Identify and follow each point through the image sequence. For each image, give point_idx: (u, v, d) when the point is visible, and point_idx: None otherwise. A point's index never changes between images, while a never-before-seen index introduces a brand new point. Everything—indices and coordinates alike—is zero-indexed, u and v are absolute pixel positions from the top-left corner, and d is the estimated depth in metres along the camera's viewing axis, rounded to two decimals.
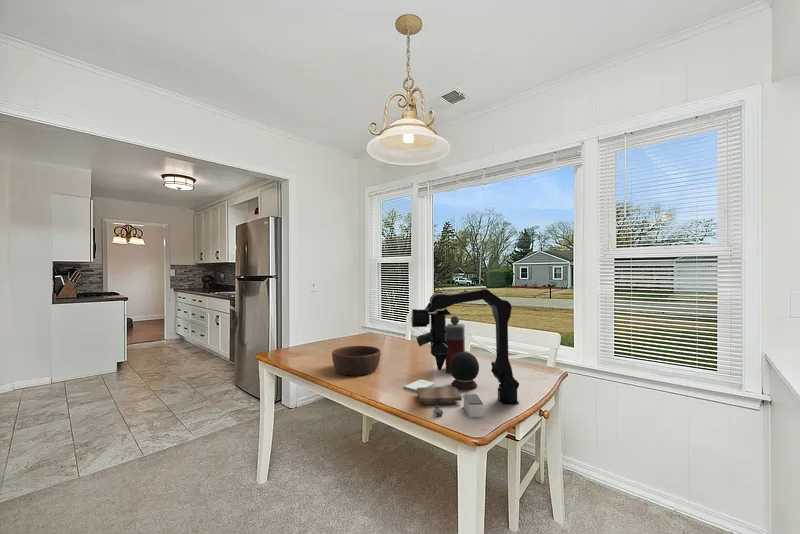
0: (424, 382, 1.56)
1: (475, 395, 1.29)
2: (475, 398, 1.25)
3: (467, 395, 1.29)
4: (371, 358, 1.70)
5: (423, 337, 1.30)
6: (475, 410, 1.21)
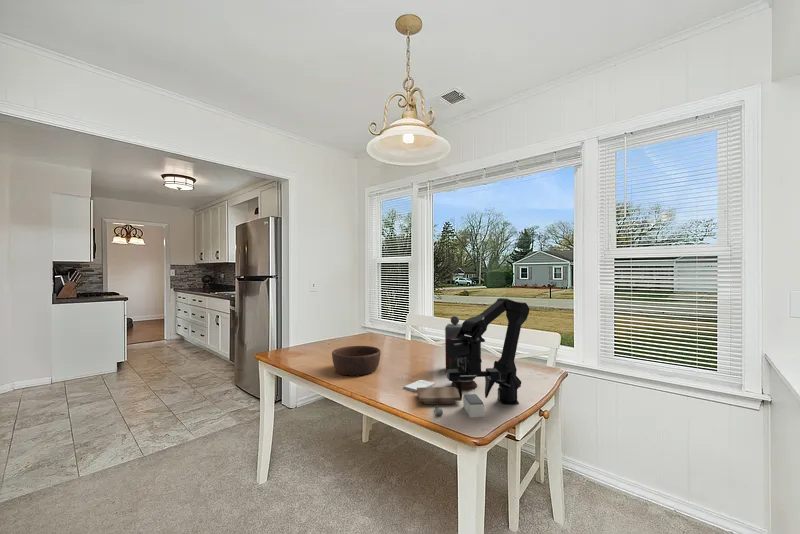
0: (424, 382, 1.56)
1: (475, 395, 1.29)
2: (475, 398, 1.25)
3: (467, 395, 1.29)
4: (371, 358, 1.70)
5: (458, 360, 1.32)
6: (476, 410, 1.21)
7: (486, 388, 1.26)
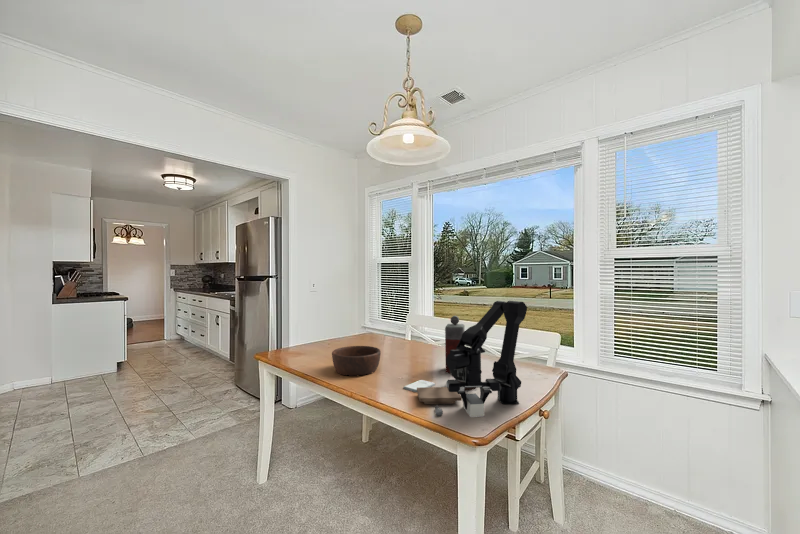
0: (424, 382, 1.56)
1: (474, 394, 1.29)
2: (475, 398, 1.25)
3: (467, 395, 1.29)
4: (371, 358, 1.70)
5: (458, 370, 1.31)
6: (476, 410, 1.21)
7: (481, 399, 1.25)
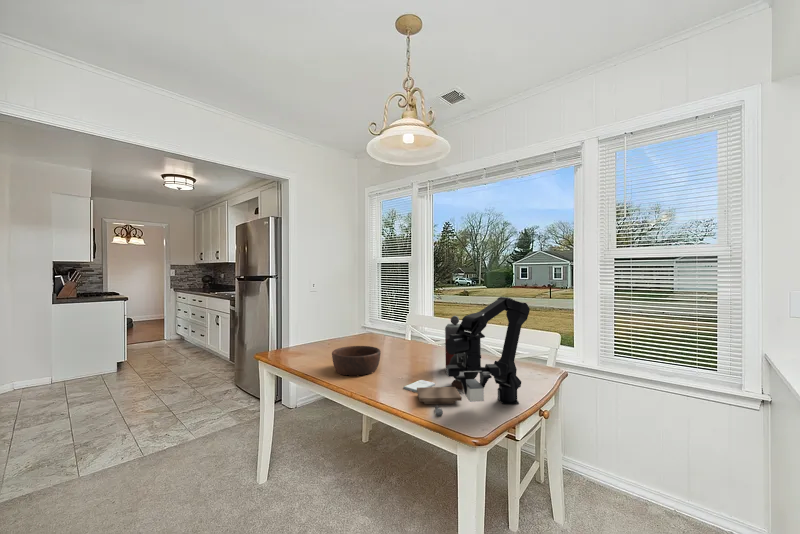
0: (424, 382, 1.56)
1: (474, 380, 1.29)
2: (475, 383, 1.25)
3: (466, 380, 1.29)
4: (371, 358, 1.70)
5: (457, 356, 1.31)
6: (475, 394, 1.21)
7: None
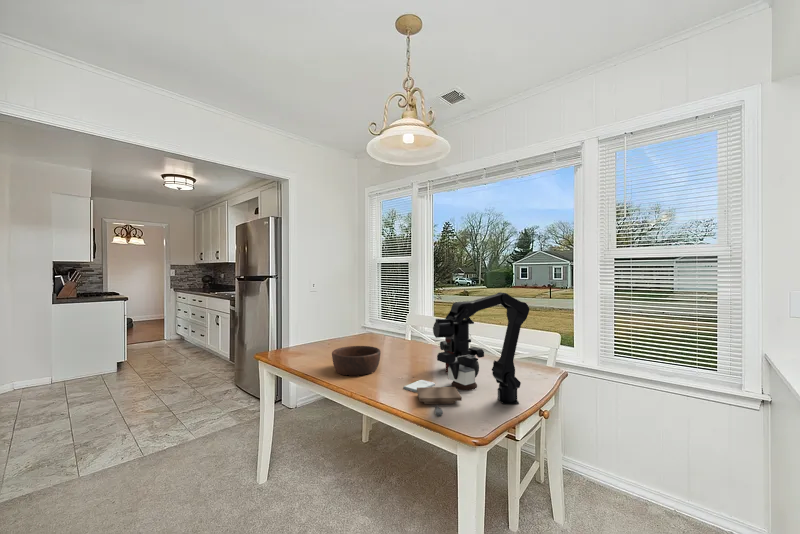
0: (424, 382, 1.56)
1: (459, 365, 1.32)
2: (464, 367, 1.29)
3: None
4: (371, 358, 1.70)
5: (442, 343, 1.32)
6: (469, 377, 1.25)
7: None
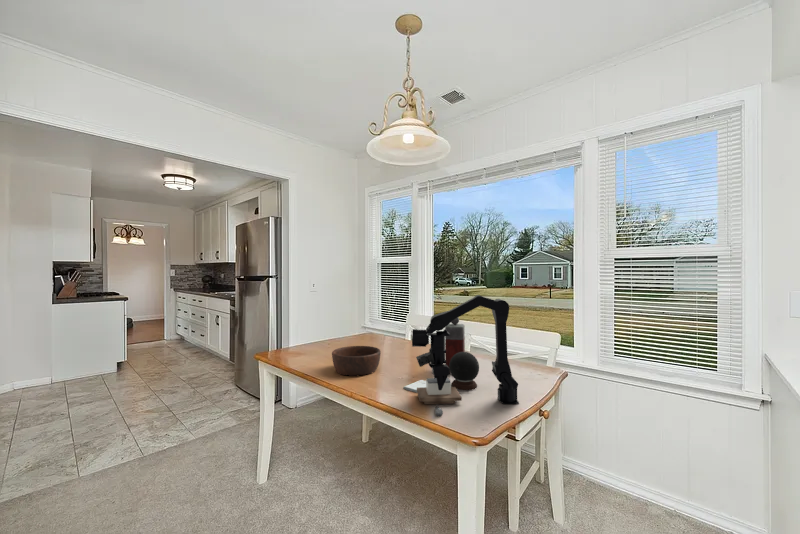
0: (424, 382, 1.55)
1: (430, 378, 1.39)
2: None
3: (431, 381, 1.36)
4: (371, 358, 1.70)
5: (424, 358, 1.33)
6: None
7: None
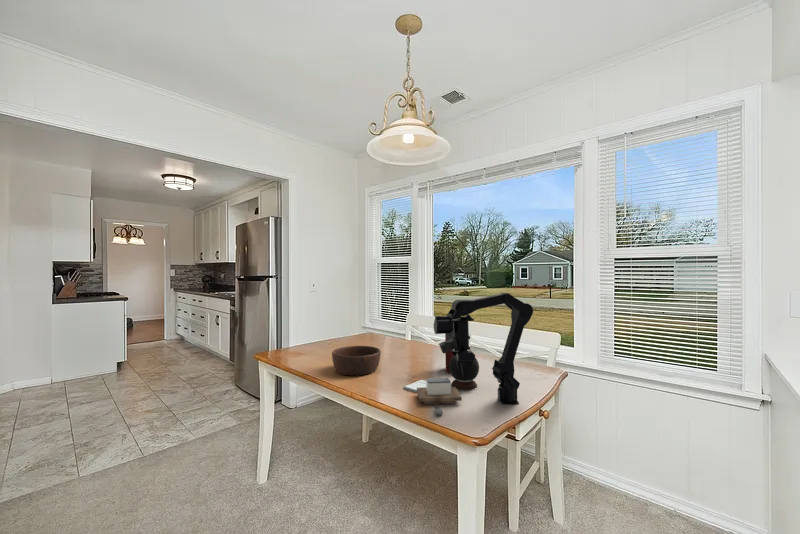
0: (424, 382, 1.55)
1: (430, 378, 1.39)
2: (439, 379, 1.38)
3: (431, 381, 1.36)
4: (371, 358, 1.70)
5: (448, 344, 1.29)
6: None
7: None
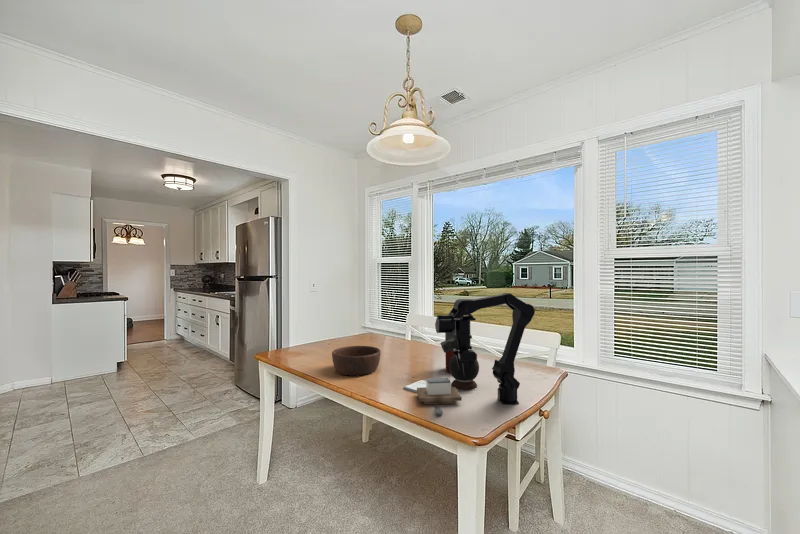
0: (424, 383, 1.55)
1: (430, 378, 1.39)
2: (439, 379, 1.38)
3: (431, 381, 1.36)
4: (371, 358, 1.70)
5: (450, 343, 1.28)
6: None
7: None
